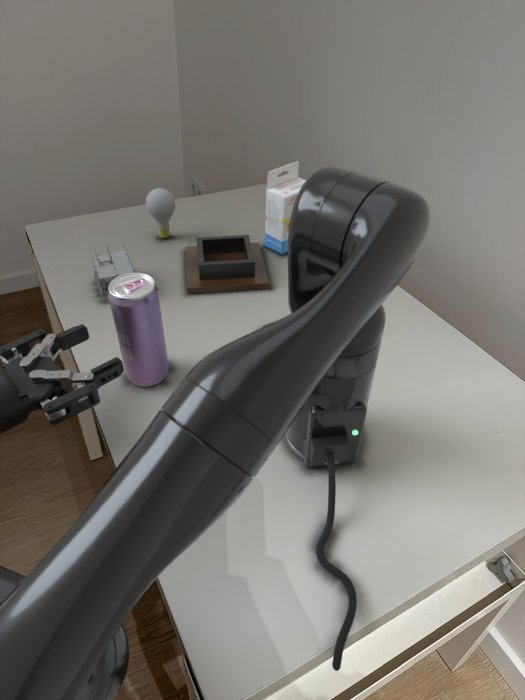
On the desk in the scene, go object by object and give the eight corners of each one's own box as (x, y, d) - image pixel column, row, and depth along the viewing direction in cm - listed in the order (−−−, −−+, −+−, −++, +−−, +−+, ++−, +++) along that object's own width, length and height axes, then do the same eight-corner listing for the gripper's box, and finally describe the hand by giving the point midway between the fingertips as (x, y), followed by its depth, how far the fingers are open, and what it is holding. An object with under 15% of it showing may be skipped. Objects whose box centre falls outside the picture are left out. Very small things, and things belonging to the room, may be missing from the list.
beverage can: (178, 373, 73) (166, 284, 63) (144, 395, 69) (126, 305, 59) (151, 353, 76) (136, 266, 66) (118, 374, 72) (96, 285, 63)
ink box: (282, 256, 97) (285, 180, 87) (264, 246, 100) (265, 171, 90) (312, 241, 102) (318, 167, 92) (294, 232, 104) (298, 159, 95)
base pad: (269, 288, 89) (269, 267, 86) (187, 294, 87) (185, 273, 85) (258, 247, 99) (259, 228, 97) (185, 252, 98) (183, 232, 95)
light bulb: (176, 244, 100) (171, 195, 93) (148, 244, 100) (141, 195, 93) (180, 231, 104) (175, 183, 97) (153, 230, 104) (146, 183, 97)
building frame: (102, 302, 85) (94, 271, 81) (94, 277, 91) (87, 247, 87) (139, 294, 87) (134, 264, 83) (129, 270, 93) (124, 241, 89)
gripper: (-40, 399, 63) (82, 342, 71) (7, 472, 55) (138, 398, 63) (-65, 352, 58) (70, 297, 66) (-17, 425, 50) (129, 352, 58)
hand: (103, 347), depth 65 cm, fingers open, 8 cm apart
